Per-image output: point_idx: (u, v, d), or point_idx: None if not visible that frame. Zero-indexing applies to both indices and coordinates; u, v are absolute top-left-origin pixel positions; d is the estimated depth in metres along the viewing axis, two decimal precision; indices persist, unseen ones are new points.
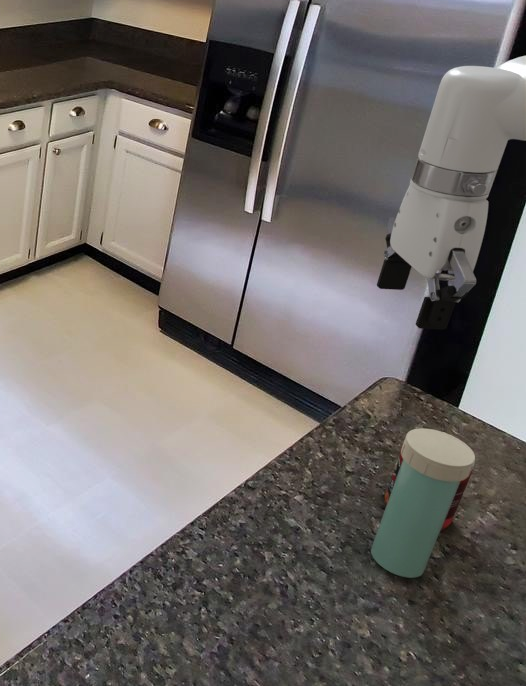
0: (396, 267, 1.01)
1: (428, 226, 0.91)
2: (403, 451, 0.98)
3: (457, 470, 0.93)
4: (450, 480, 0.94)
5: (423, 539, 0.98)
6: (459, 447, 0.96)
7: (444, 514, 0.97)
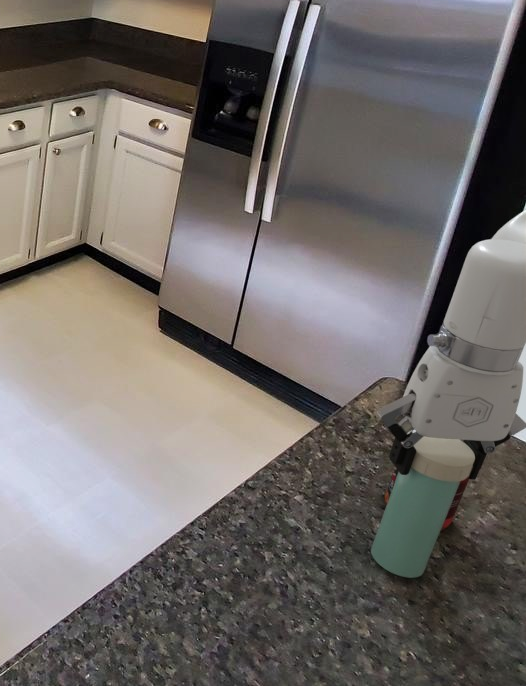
0: None
1: None
2: None
3: (457, 470, 0.93)
4: (450, 480, 0.94)
5: (423, 539, 0.98)
6: (459, 447, 0.96)
7: (444, 514, 0.97)
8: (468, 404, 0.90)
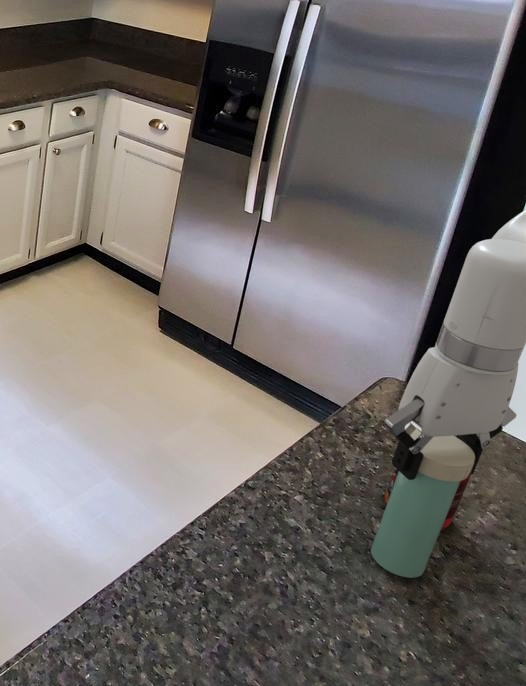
0: None
1: (501, 394, 0.90)
2: None
3: None
4: None
5: (423, 539, 0.98)
6: (423, 448, 0.96)
7: (444, 514, 0.97)
8: None
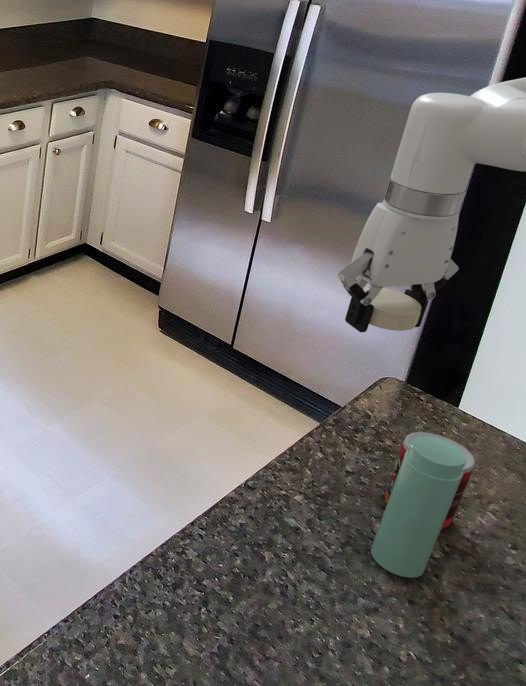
0: None
1: (443, 242, 0.96)
2: None
3: None
4: None
5: (423, 539, 0.98)
6: (374, 302, 1.01)
7: (444, 514, 0.97)
8: None
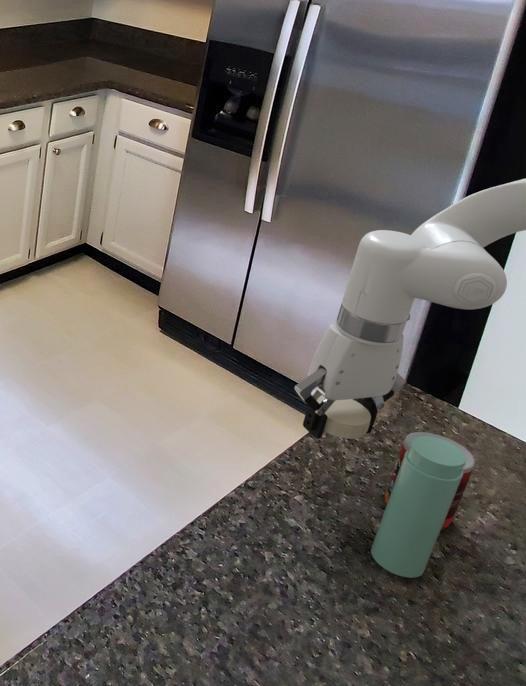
0: None
1: (389, 362, 1.06)
2: None
3: None
4: None
5: (423, 539, 0.98)
6: (328, 411, 1.11)
7: (444, 514, 0.97)
8: None
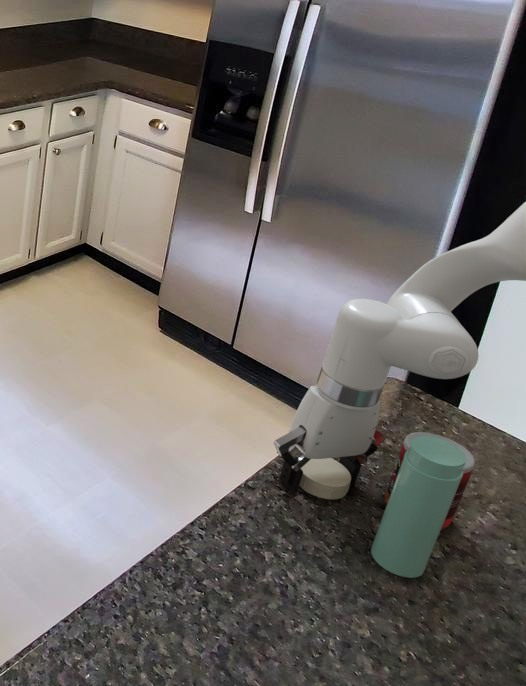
0: None
1: (367, 424, 1.10)
2: None
3: None
4: None
5: (423, 539, 0.98)
6: (310, 471, 1.15)
7: (444, 514, 0.97)
8: None
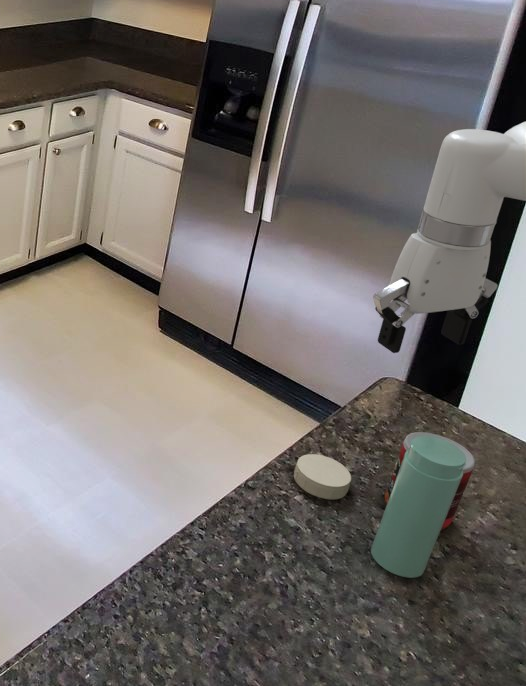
0: None
1: (477, 270, 1.01)
2: None
3: None
4: None
5: (423, 539, 0.98)
6: (310, 471, 1.15)
7: (444, 514, 0.97)
8: None
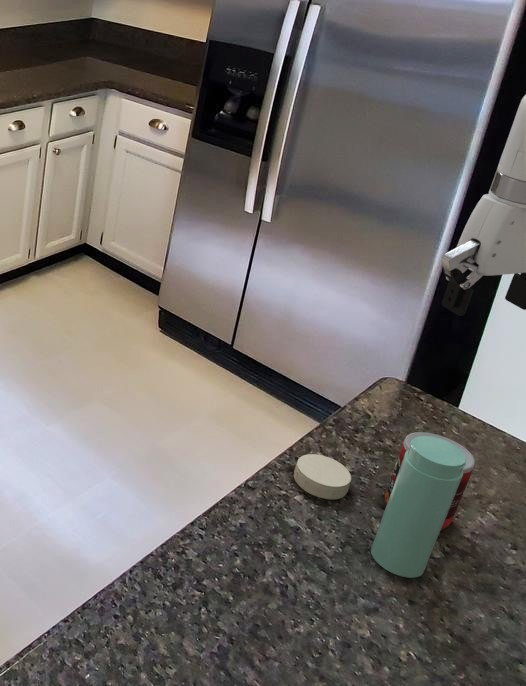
0: None
1: None
2: None
3: None
4: None
5: (423, 539, 0.98)
6: (310, 471, 1.15)
7: (444, 514, 0.97)
8: None
